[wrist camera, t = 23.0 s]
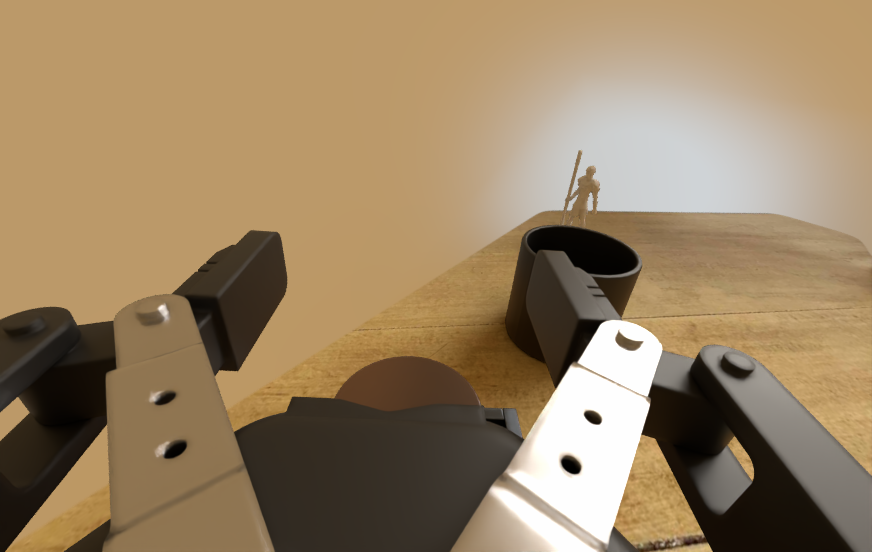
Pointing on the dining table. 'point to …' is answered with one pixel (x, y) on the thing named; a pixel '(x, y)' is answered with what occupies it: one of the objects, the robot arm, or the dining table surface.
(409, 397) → the tall brown cylinder
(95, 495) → the dining table surface
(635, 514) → the dining table surface
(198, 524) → the robot arm
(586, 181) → the figurine
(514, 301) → the mug
